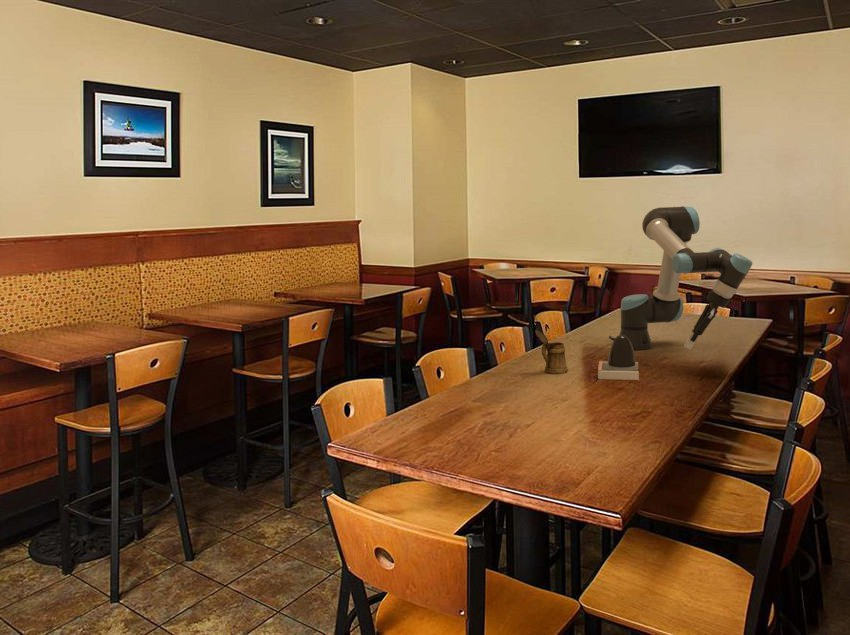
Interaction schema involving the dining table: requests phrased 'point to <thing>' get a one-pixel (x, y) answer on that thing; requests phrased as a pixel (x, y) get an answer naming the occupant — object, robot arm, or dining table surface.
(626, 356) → the black tall rounded piece
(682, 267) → the robot arm
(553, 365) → the wooden mug
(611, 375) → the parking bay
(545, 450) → the dining table surface
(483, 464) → the dining table surface
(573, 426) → the dining table surface
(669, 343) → the dining table surface
